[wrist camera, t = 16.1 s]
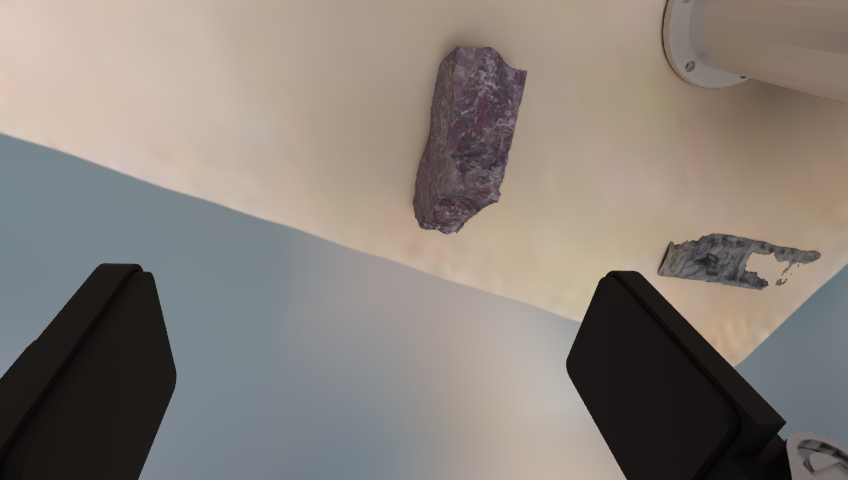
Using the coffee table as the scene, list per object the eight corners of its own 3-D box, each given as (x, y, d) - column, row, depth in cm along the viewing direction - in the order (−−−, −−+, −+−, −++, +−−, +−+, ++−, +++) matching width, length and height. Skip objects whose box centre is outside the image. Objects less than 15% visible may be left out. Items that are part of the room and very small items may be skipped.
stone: (495, 49, 24) (413, 267, 31) (582, 81, 26) (488, 278, 33) (445, 29, 33) (389, 202, 39) (513, 55, 35) (450, 215, 42)
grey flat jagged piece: (645, 269, 50) (657, 280, 48) (678, 219, 47) (691, 229, 45) (773, 290, 56) (787, 301, 54) (809, 247, 53) (826, 257, 51)
